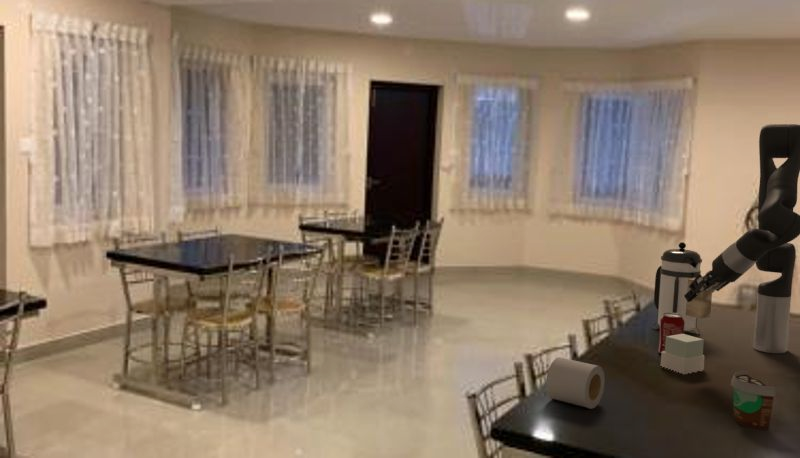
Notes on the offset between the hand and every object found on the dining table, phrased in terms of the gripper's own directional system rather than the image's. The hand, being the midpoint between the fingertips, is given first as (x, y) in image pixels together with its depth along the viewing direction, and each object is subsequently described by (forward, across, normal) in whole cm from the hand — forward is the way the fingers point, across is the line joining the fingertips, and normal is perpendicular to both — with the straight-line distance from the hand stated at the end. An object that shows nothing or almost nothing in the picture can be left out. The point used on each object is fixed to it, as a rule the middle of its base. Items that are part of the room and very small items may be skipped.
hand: (693, 298), depth 216 cm
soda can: (+23, -8, +5) cm, 25 cm away
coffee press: (+37, -33, -8) cm, 51 cm away
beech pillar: (+2, 0, +5) cm, 5 cm away
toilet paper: (+10, +49, +19) cm, 54 cm away
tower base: (+15, +1, +14) cm, 20 cm away
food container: (-10, +24, +38) cm, 46 cm away
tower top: (+12, +1, +11) cm, 16 cm away
